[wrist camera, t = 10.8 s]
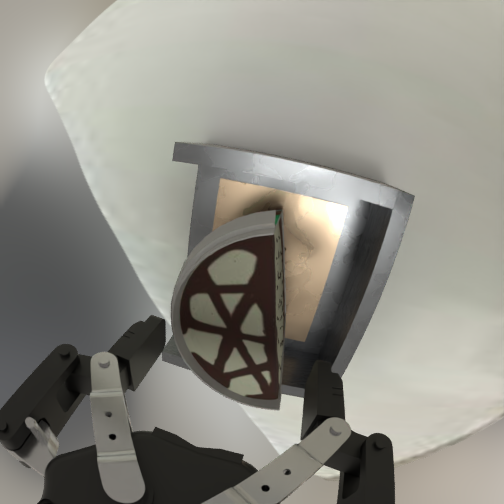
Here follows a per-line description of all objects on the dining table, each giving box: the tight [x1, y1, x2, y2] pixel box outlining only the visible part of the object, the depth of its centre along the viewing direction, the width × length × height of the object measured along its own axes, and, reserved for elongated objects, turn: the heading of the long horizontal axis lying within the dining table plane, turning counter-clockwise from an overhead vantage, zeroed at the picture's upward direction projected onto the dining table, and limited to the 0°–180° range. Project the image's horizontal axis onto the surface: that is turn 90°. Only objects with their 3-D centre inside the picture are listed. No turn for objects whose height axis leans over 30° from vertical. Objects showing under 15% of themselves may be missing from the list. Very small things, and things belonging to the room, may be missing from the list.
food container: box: [171, 209, 286, 410], centre depth 18 cm, size 12×6×10 cm, turn 4°
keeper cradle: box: [162, 142, 415, 398], centre depth 21 cm, size 15×18×6 cm
